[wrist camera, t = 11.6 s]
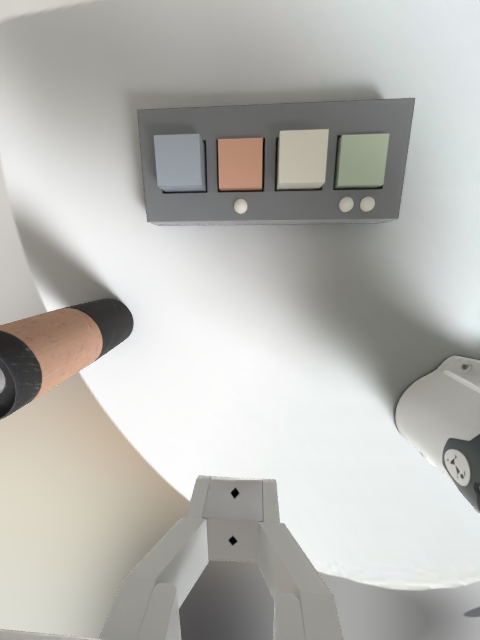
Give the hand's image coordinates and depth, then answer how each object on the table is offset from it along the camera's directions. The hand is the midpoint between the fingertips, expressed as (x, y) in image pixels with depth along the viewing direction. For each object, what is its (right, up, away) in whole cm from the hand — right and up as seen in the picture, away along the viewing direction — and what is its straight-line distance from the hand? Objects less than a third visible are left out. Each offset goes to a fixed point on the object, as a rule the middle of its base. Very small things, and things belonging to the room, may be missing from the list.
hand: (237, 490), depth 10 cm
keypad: (+4, +25, +23) cm, 35 cm away
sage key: (+14, +25, +22) cm, 36 cm away
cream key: (+7, +25, +21) cm, 33 cm away
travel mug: (-20, +6, +30) cm, 37 cm away
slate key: (-7, +25, +22) cm, 34 cm away
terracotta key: (0, +25, +23) cm, 34 cm away
